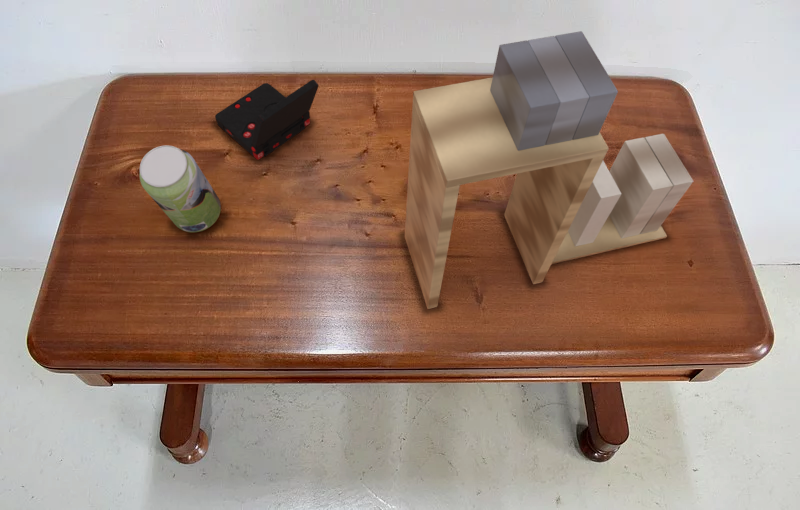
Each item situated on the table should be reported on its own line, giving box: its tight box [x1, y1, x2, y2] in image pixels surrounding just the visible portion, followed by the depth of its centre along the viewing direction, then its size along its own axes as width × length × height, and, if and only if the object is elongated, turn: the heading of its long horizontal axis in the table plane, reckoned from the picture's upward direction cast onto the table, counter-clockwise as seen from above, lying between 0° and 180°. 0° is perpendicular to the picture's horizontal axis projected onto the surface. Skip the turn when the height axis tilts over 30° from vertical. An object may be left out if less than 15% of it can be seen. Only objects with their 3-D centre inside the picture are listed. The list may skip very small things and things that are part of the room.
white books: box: [551, 133, 694, 265], centre depth 70 cm, size 9×16×10 cm, turn 105°
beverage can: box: [139, 144, 222, 233], centre depth 69 cm, size 6×7×12 cm
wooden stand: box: [404, 30, 619, 310], centre depth 59 cm, size 10×14×29 cm
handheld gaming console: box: [215, 79, 319, 160], centre depth 77 cm, size 9×12×10 cm
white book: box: [568, 160, 621, 246], centre depth 70 cm, size 7×2×10 cm, turn 15°
